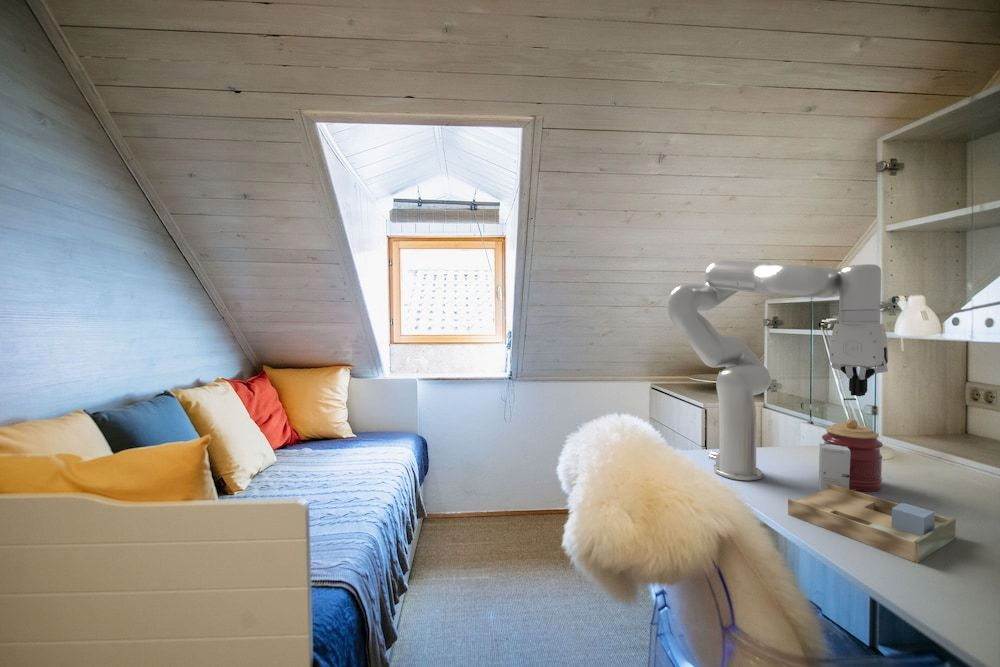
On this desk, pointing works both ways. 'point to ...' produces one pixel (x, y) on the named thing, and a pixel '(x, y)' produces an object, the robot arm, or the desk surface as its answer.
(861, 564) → the desk surface
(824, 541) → the desk surface
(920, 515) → the block
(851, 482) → the canister
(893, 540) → the box
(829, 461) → the skincare box
